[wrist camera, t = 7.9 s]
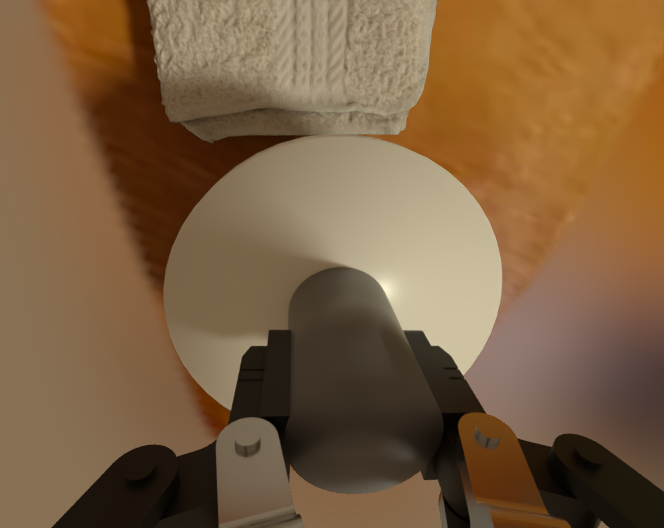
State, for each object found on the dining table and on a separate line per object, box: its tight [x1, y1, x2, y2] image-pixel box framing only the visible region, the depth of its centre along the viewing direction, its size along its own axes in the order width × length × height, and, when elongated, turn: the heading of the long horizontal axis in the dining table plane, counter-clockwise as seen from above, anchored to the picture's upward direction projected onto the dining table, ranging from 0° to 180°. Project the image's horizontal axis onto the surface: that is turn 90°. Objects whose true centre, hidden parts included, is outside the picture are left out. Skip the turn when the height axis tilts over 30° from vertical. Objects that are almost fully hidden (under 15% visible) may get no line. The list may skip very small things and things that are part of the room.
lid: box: [163, 134, 502, 494], centre depth 11 cm, size 12×12×7 cm
